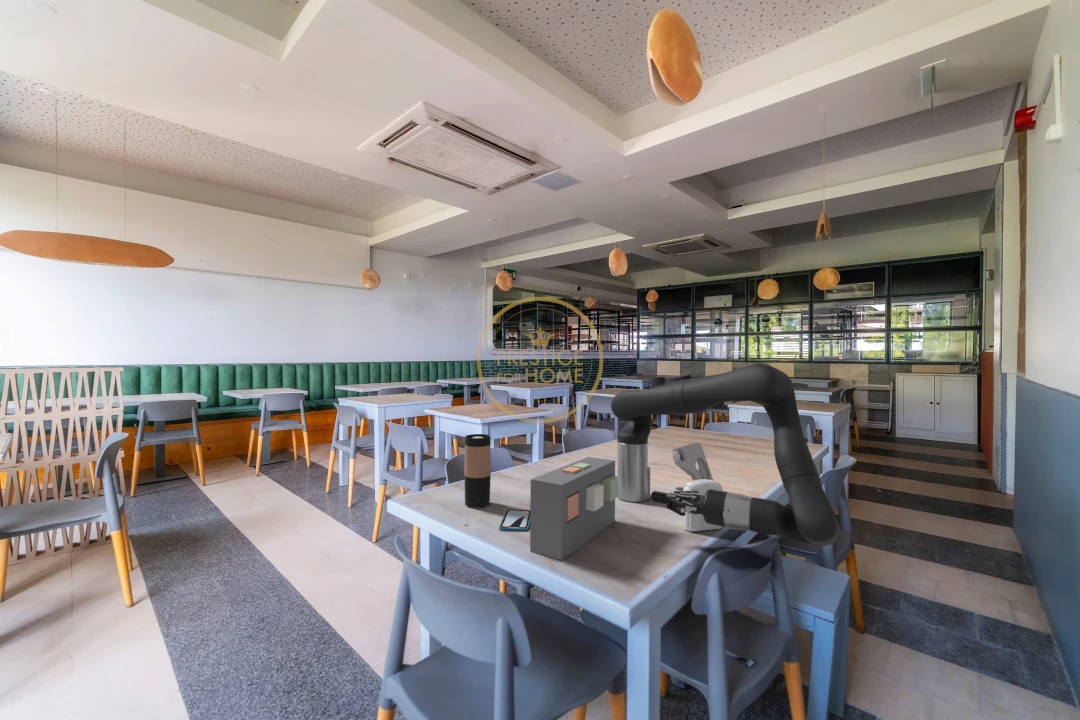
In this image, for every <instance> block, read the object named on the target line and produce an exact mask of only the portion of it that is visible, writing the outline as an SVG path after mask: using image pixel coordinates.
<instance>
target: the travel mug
mask: <svg viewBox="0 0 1080 720" xmlns="http://www.w3.org/2000/svg"><path fill="white" fill-rule="evenodd" d="M491 438H492V437H491V435H490V434H484V433H474V434H473V433H472V434H467V435H464V479H463V480H464V505H465V506H466V505H467V506H469V507H468V508H470V507H482V508H486V507H488V506H489V505H490V502H491V501H490V500H491V478H492V477H491V475H492V474H491V472H492V471H491V470H492V468H491V467H492V466H491V462H492V461H491V460H492V457H491V455H492V453H491V449H492V448H491V447H492V446H491V443H492V442H491ZM487 505H488V506H487ZM467 506H466V507H467ZM485 506H486V507H485Z"/></svg>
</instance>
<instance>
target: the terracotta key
mask: <svg viewBox="0 0 1080 720" xmlns="http://www.w3.org/2000/svg"><path fill="white" fill-rule="evenodd" d="M578 515H579V493H577V492H576V493H574V494H572V495H570V496H568V497H567V522H568V521H569V520H571V519H573V518H574V517H576V516H578Z"/></svg>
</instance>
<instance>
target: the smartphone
mask: <svg viewBox="0 0 1080 720" xmlns="http://www.w3.org/2000/svg"><path fill="white" fill-rule="evenodd" d="M498 529H499V531H501V532H502V531H503V532H504V531H505V532H507V531H509V532H527V531H528V530H529V529H530V509H511V508H509V509H506V510H505V512H504V514H503V517H502V519H501V522H500V524H499V526H498Z"/></svg>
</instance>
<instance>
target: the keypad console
mask: <svg viewBox="0 0 1080 720" xmlns="http://www.w3.org/2000/svg"><path fill="white" fill-rule="evenodd" d="M607 476H616V460H614V459H608V458H607V459H606V458H600V457H591V456H586V457H584V458H582V459H578V460H577V461H574V462H572V463H569V464H566V465H563V466H561V467H559V468H556V469H553V470H551V471H548V472H546V473H545V472H544V473H543V474H541V475H538V477H536V476H535V477H533V478H530V509H529V510H530V524H529V531H530V533H529V534H530V535H529V537H530V538H529V539H530V541H529V543H530V544H529V545H530V546H529V548H530V549H529V550H530V552H531V553H534V554H537V555H541V556H545V557H549V558H551V559H555V560H559V561H563V560H564V559H565V558H567V557H568V556H569V555H571V554H572V553H574V552H575V551H576V550H577V549H579V548H581V547H582V546H583V545H584V544H586V543H588V541H590V540H591V539H593V538H594V537H595V536H597V535H598V534H599V533H601V532H602V531H604V530H605V529H606V528H608V527H609V526H611V525H612V524H613V523H614V522H616V498H615V499H613V500H612V501H605V500H603V506H602V507H601V508H599V509H598V510H596V511H589V510H586V487H587V486H589V485H591V484H593V483H595V484H601V485H602V479H603V478H605V477H607ZM576 492H577V493H579V515H578V516H576V517H574V518H573V519H571V520H569V521H568V522H567V497H568V496H570V495H572V494H574V493H576Z"/></svg>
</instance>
